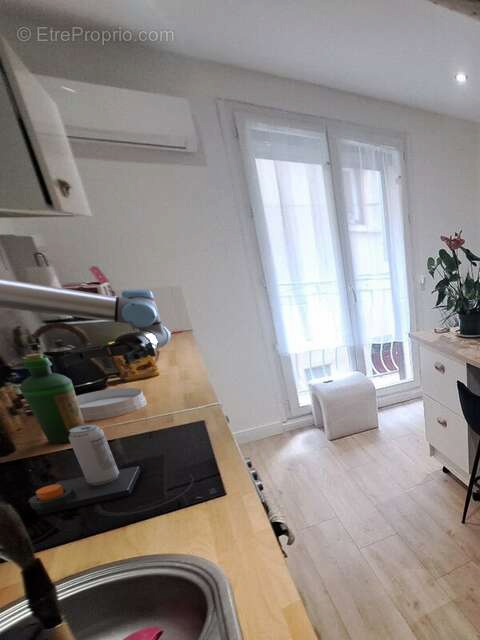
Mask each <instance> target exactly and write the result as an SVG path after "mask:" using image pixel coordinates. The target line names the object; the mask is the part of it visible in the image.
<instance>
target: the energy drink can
mask: <svg viewBox="0 0 480 640" xmlns="http://www.w3.org/2000/svg"><path fill="white" fill-rule="evenodd" d="M69 440H70V442H69V443H70V445H71V448H72V450H73V452H74V454H75V458H76V459H77V462H78V464H79V467H80V468H81V471H82V473H83V477H85V478H86V481H87V482H88V483H91V484H92V485H101V484H105V483H109V482H111V481H113V480H115V479H116V478H117V475H118V474H119V471H118V470H119V469H118V466H117V464H116V461H115V457H114V455H113V453H112V451H111V448H110V446H109V442H108V440H107V438H106V435H105V433H104V430H103V429H102V428H100V427H99V426H98V424H96V423H89V424H85V425H82V426H78V427H75V428H73V429H71V430H70V435H69Z"/></svg>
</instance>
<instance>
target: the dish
mask: <svg viewBox="0 0 480 640" xmlns="http://www.w3.org/2000/svg"><path fill="white" fill-rule="evenodd" d="M76 397H77V401H78V404H79V407H80V410H81V414H82V417H83V420H84V422H90V421H98V420H105V419H110V418H116V417H120V416H123V415H127V414H130V413H134V412H137V411H139V410H140V409H142V408H144V407H145V406H147V400H146V397H145V395H144V392H143V390H142V389H140V388H135V387H121V388H110V389H102V390H96V391H92V392H86V393H82V394H78V395H76Z"/></svg>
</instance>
